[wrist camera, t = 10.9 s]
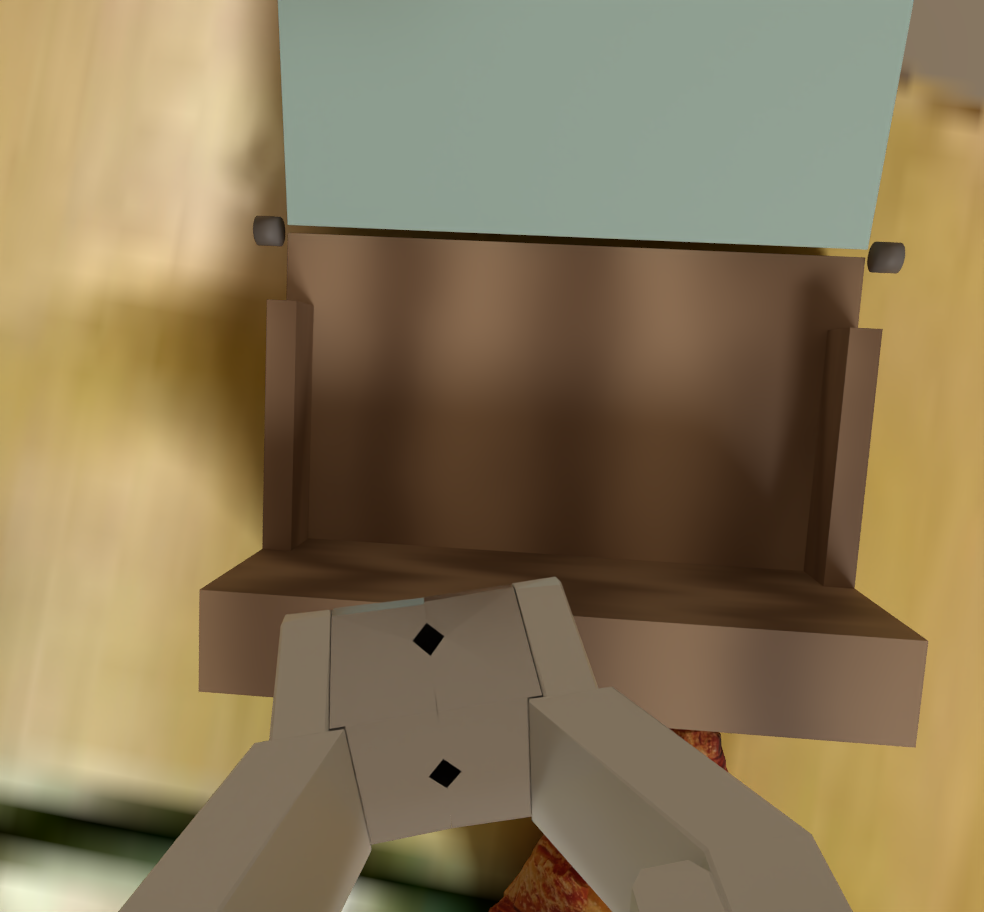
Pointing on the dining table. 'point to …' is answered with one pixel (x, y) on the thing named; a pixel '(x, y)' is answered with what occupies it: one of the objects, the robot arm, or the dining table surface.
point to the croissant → (552, 879)
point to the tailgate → (592, 116)
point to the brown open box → (584, 467)
